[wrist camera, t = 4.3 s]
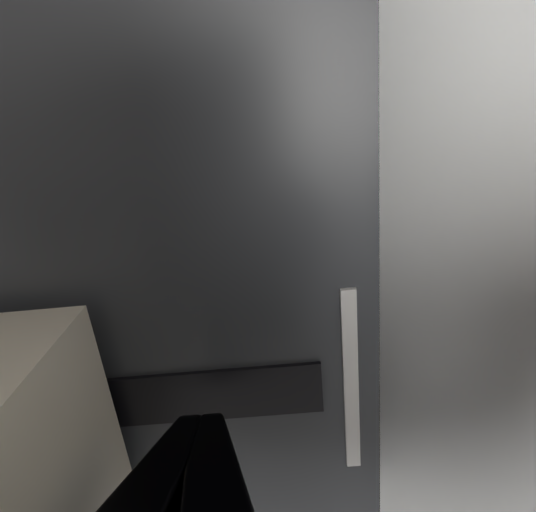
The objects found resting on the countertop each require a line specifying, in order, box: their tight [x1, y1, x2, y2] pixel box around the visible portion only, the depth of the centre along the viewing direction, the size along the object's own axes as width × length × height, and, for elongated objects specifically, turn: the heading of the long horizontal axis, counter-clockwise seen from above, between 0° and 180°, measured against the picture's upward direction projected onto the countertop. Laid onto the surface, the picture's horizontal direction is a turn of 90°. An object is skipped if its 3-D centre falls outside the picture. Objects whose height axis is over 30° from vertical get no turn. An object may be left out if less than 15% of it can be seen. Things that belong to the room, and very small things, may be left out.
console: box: [0, 0, 380, 512], centre depth 8 cm, size 12×19×1 cm, turn 5°
